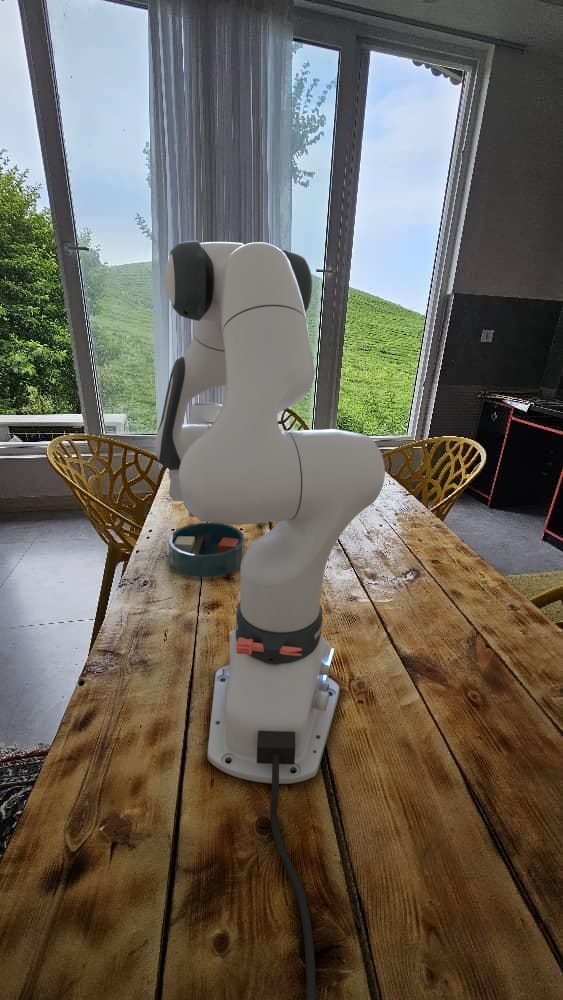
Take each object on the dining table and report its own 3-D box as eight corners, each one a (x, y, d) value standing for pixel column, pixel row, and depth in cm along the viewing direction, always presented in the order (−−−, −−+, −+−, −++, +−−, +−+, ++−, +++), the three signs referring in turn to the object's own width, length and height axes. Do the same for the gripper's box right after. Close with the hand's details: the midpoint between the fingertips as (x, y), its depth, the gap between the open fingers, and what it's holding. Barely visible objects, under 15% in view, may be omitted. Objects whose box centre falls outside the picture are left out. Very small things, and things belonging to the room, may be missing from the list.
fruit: (263, 532, 116) (264, 514, 114) (255, 531, 116) (255, 513, 114) (269, 516, 125) (269, 500, 124) (262, 515, 126) (262, 499, 124)
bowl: (234, 582, 93) (234, 559, 91) (158, 574, 95) (157, 552, 93) (250, 546, 108) (250, 526, 106) (184, 540, 110) (183, 519, 108)
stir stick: (196, 572, 95) (196, 560, 94) (189, 572, 95) (188, 559, 94) (205, 546, 106) (204, 535, 105) (198, 546, 106) (198, 535, 105)
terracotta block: (235, 562, 100) (235, 547, 98) (218, 560, 100) (217, 545, 99) (240, 554, 103) (240, 539, 102) (223, 552, 104) (223, 537, 102)
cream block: (192, 560, 100) (191, 544, 98) (174, 559, 100) (173, 544, 98) (195, 551, 104) (195, 536, 102) (178, 551, 103) (177, 535, 102)
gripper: (163, 467, 109) (167, 519, 114) (245, 474, 106) (245, 526, 112) (173, 460, 115) (175, 509, 120) (250, 466, 112) (250, 516, 117)
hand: (209, 517), depth 116 cm, fingers open, 8 cm apart
